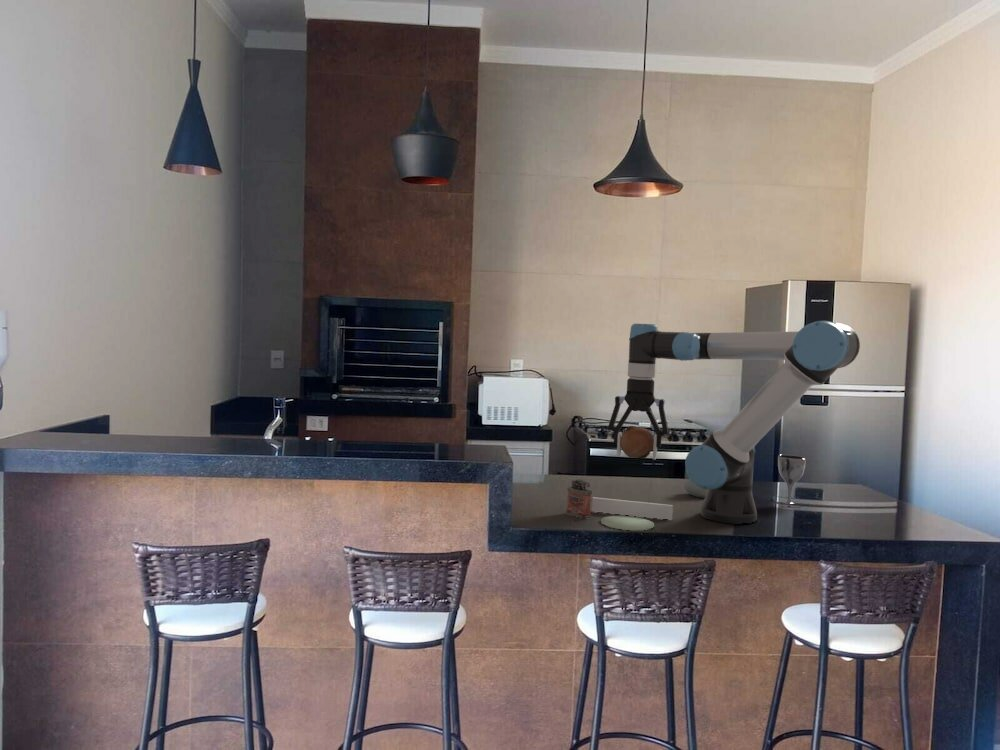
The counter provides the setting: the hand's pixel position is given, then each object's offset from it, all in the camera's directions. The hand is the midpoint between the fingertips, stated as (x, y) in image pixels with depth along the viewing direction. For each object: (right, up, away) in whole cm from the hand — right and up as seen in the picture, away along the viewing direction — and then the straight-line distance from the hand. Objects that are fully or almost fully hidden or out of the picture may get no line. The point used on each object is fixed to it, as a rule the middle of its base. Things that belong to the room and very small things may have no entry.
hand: (636, 456), depth 224 cm
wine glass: (+50, -17, +18) cm, 56 cm away
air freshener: (+25, -15, +26) cm, 39 cm away
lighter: (-17, -16, -8) cm, 25 cm away
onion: (0, 0, 0) cm, 0 cm away
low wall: (-2, -16, -5) cm, 17 cm away
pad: (-5, -16, -14) cm, 22 cm away
